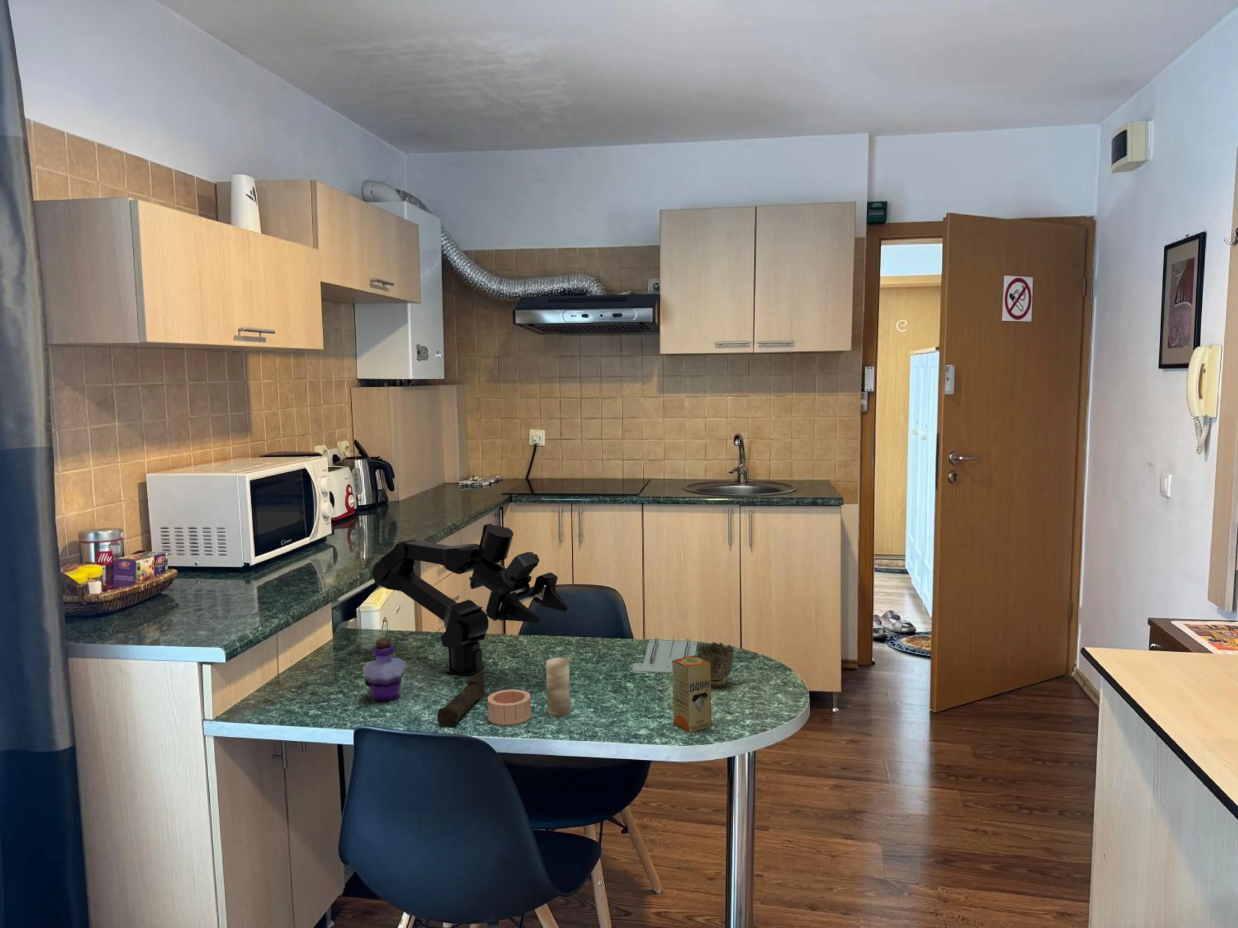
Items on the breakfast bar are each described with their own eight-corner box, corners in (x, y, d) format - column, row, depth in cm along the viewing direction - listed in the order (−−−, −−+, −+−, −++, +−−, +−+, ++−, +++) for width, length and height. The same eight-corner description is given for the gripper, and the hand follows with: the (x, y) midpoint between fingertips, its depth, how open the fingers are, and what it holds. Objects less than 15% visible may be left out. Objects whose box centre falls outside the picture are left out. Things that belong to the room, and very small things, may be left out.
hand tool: (456, 729, 156) (455, 704, 156) (436, 727, 157) (436, 703, 157) (496, 692, 175) (495, 670, 174) (478, 691, 176) (477, 669, 175)
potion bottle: (361, 693, 175) (358, 637, 174) (404, 686, 178) (401, 631, 177) (366, 708, 167) (363, 649, 166) (411, 700, 170) (408, 642, 169)
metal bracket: (641, 630, 196) (706, 633, 193) (642, 651, 198) (707, 654, 195) (630, 667, 183) (700, 670, 180) (632, 689, 185) (701, 693, 182)
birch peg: (543, 714, 162) (542, 663, 161) (553, 706, 166) (552, 656, 165) (564, 717, 160) (563, 666, 159) (574, 708, 164) (572, 658, 163)
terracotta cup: (479, 722, 159) (479, 702, 158) (501, 705, 166) (500, 687, 166) (518, 727, 156) (518, 707, 155) (538, 711, 163) (538, 691, 163)
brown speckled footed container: (690, 685, 175) (690, 648, 174) (712, 676, 180) (711, 639, 180) (720, 694, 170) (719, 655, 169) (741, 684, 175) (740, 646, 175)
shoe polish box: (673, 723, 156) (672, 660, 155) (694, 717, 159) (694, 655, 158) (689, 732, 152) (688, 667, 151) (711, 726, 155) (710, 662, 153)
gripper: (476, 553, 169) (533, 590, 162) (536, 538, 185) (590, 570, 177) (463, 601, 173) (518, 640, 165) (523, 582, 188) (576, 616, 180)
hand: (553, 614), depth 172 cm, fingers open, 9 cm apart
